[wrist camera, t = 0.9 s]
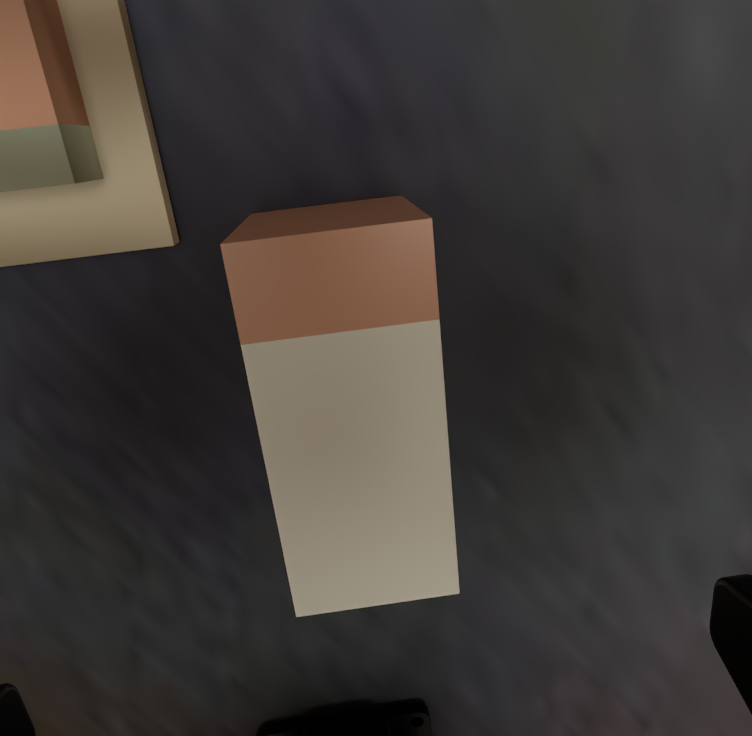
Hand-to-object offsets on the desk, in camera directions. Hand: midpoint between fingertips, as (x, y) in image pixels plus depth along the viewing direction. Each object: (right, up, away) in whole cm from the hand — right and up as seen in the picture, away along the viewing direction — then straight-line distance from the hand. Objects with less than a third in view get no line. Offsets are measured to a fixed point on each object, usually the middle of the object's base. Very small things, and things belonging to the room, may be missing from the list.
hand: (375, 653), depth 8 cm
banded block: (-1, +4, +10) cm, 11 cm away
